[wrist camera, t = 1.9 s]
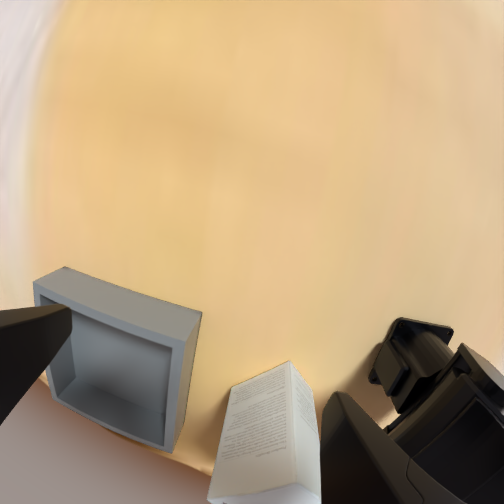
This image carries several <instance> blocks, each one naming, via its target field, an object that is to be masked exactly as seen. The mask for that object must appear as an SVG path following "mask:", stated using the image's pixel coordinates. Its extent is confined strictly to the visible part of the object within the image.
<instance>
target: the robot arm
mask: <svg viewBox="0 0 504 504" xmlns="http://www.w3.org/2000/svg"><path fill="white" fill-rule="evenodd" d="M401 322H403V323H402V325H400V326H399V324H400V323H401ZM72 328H73V326H72V310H71V308H70V307H68V306H66V305H64V304H53V305H45V306H37V307H28V308H19V309H10V310H1V311H0V425H1V424H2V423H3V421H4V420H5V419H6V417H7V416H8V415H9V413H10V412H11V411H12V409H13V408H14V407H15V405H16V404H17V403H18V402H19V401H20V399H21V398H22V397H23V396H24V394H25V393H26V392H27V391H28V389H29V388H30V387H31V386H32V384H33V383H34V382H35V381H36V380H37V378H38V377H39V376H40V375H41V374H42V373H43V371H44V370H45V369H46V368H47V367H48V365H49V364H50V363H51V362H52V360H53V359H54V357H55V356H56V354H57V353H58V352H59V350H60V349H61V347H62V346H63V344H64V343H65V342H66V340H67V339H68V337H69V336H70V335H71V333H72ZM448 332H449V333H448ZM447 333H448V334H447ZM453 333H454V331H453V329H452V328H451V327H448V326H443V325H438V324H433V323H428V322H422V321H418V320H413V319H408V318H403V317H400V318H398V319H397V320H396V321H395V323H394V325H393V328H392V330H391V332H390V334H389V337H388V339H387V340H386V341H385V343H384V345H383V347H382V349H381V351H380V353H379V355H378V357H377V359H376V361H375V363H374V365H373V366H374V367H373V369H372V371H371V373H370V375H369V377H368V379H369V382H370V383H371V384H379V385H382V386H383V388H384V391H385V393H386V395H387V396H388V397H391V399H392V402H393V404H394V406H395V409H396V411H397V413H398V414H401V415H400V416H399V417H398V418H397V419H395V420H394V421H393V422H392V423H391V424H390V425H387V426H386V427H385V428H384V429H383V430H382V429H381V428H380V427H379V426H378V425H377V424H376V423H375V422H374V421H373V420H372V418H371V417H370V416H369V415H368V414H367V413H366V412H365V411H364V410H363V409H362V408H361V407H360V406H359V405H358V404H357V403H356V402H355V401H354V400H353V399H352V398H351V397H350V396H349V395H348V394H347V393H345V392H339V391H335V392H334V393H333V394H332V395H331V397H330V399H329V401H328V403H327V404H326V406H325V408H324V410H323V413H322V427H321V441H320V478H321V504H504V376H503V375H502V374H501V373H500V372H499V371H498V370H497V369H496V368H495V367H494V366H493V365H492V364H491V363H490V362H489V361H488V360H486V359H485V358H483V357H482V356H481V355H479V354H478V353H476V352H475V351H474V350H472V349H471V348H469V347H468V346H467V345H465V344H464V343H461V344H460V346H459V347H458V348H457V349H458V350H457V352H456V353H455V354H454V353H453V352H452V350H451V349H450V348H449V347H448V344H449V342H450V340H451V338H452V336H453ZM374 377H376V378H375V379H373V378H374Z"/></svg>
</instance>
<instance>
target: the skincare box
mask: <svg viewBox="0 0 504 504" xmlns="http://www.w3.org/2000/svg"><path fill="white" fill-rule="evenodd" d="M207 501H209V502H210V503H212V504H321V478H320V442H319V434H318V426H317V420H316V413H315V406H314V399H313V392H312V389H311V388H310V386H309V385H308V384H307V383H306V381H305V380H304V379H303V377H302V376H301V375H300V373H299V372H298V370H297V369H296V368H295V366H294V365H293V364H292V362H291V361H287V362H285V363H283V364H281V365H279V366H277V367H275V368H273V369H271V370H269V371H267V372H265V373H262V374H260V375H258V376H256V377H254V378H251V379H249V380H247V381H245V382H242V383H240V384H238V385H235V386H233V387H232V388H231V392H230V396H229V401H228V406H227V410H226V415H225V420H224V424H223V428H222V433H221V438H220V442H219V447H218V451H217V456H216V460H215V465H214V469H213V474H212V479H211V482H210V487H209V491H208V496H207Z"/></svg>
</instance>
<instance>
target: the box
mask: <svg viewBox="0 0 504 504" xmlns="http://www.w3.org/2000/svg"><path fill="white" fill-rule="evenodd" d="M33 290H34V302H35V307H37V306H45V305H53V304H64V305H66V306H68V307H70V308H71V310H72V326H73V328H72V333H71V335H70V336H69V337H68V339H67V340H66V342H65V343H64V344H63V346H62V347H61V349H60V350H59V352H58V353H57V354H56V356H55V357H54V359H53V360H52V362H51V363H50V364H49V365H48V367H47V368H46V369H45V370H46V375H47V379H48V383H49V387H50V391H51V394H52V398H53V400H55V401H57V402H58V403H60V404H62V405H63V406H65V407H67V408H69V409H70V410H72V411H74V412H76V413H78V414H80V415H81V416H83V417H85V418H87V419H89V420H91V421H93V422H95V423H97V424H99V425H101V426H103V427H106V428H108V429H110V430H112V431H114V432H117V433H119V434H121V435H123V436H126V437H128V438H131V439H133V440H136V441H138V442H141V443H143V444H146V445H149V446H151V447H154V448H157V449H160V450H163V451H165V452H168V453H172V452H173V450H174V447H175V445H176V442H177V440H178V437H179V434H180V432H181V429H182V427H183V424H184V420H185V413H186V406H187V400H188V393H189V387H190V381H191V374H192V368H193V362H194V356H195V351H196V345H197V339H198V333H199V328H200V322H201V317H202V312H200V311H196V310H193V309H189V308H186V307H182V306H179V305H176V304H172V303H169V302H166V301H163V300H159V299H156V298H153V297H150V296H147V295H144V294H141V293H138V292H135V291H132V290H129V289H126V288H123V287H120V286H117V285H114V284H111V283H108V282H105V281H103V280H100V279H97V278H94V277H91V276H89V275H86V274H83V273H81V272H78V271H75V270H73V269H70V268H68V267H63V268H60V269H58V270H56V271H54V272H52V273H50V274H48V275H46V276H44V277H42V278H40V279H38V280H35V281H33Z"/></svg>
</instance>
